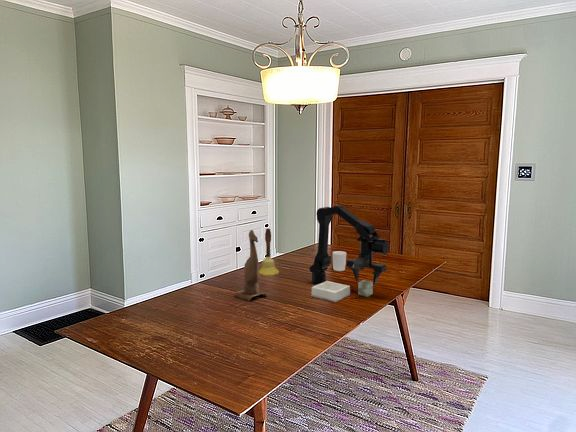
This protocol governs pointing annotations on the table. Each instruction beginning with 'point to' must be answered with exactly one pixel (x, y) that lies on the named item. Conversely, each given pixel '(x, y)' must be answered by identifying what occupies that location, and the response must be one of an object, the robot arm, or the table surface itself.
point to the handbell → (268, 258)
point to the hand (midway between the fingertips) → (365, 282)
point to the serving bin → (330, 291)
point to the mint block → (365, 288)
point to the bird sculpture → (251, 273)
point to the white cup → (339, 260)
